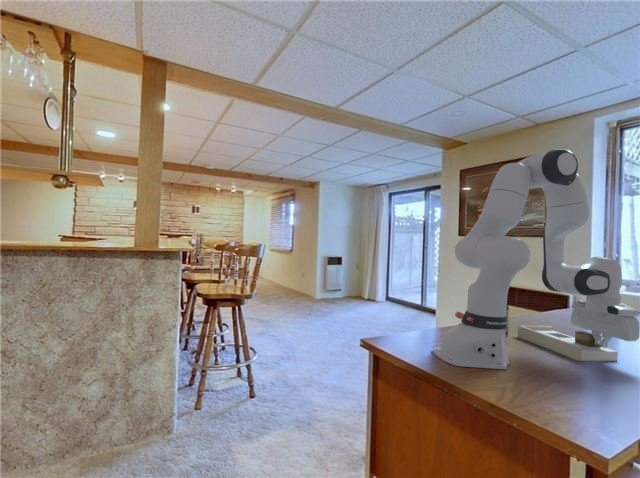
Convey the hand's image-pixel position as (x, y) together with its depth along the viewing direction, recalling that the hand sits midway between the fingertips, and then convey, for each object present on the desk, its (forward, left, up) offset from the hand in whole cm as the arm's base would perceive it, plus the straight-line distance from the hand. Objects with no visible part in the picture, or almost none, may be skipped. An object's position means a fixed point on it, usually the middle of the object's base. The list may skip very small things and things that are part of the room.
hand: (600, 346), depth 109 cm
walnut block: (0, +5, -1) cm, 5 cm away
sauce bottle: (-17, +27, -4) cm, 32 cm away
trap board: (-4, +11, -4) cm, 12 cm away
